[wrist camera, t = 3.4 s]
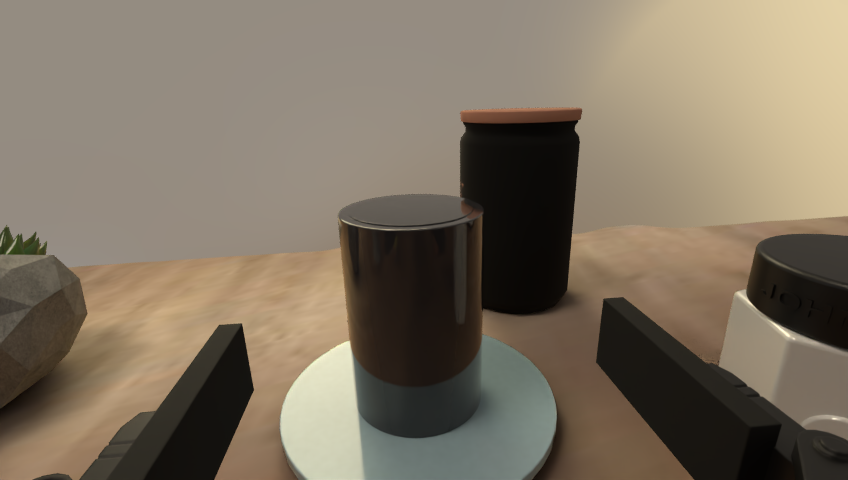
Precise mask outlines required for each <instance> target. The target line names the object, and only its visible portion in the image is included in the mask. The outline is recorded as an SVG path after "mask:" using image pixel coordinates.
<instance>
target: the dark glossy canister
mask: <svg viewBox="0 0 848 480" xmlns="http://www.w3.org/2000/svg"><path fill="white" fill-rule="evenodd" d="M338 225H339V235H340V245H341V256H342V267H343V277H344V288H345V298H346V309H347V319H348V330H349V340H350V351H351V361H352V372H353V382H354V393H355V402H356V407H357V409H358V411H359V413H360V415H361V416H362V418H363V419H364V420H365V421H366V422H367V423H368V424H370V425H371V426H372V427H374V428H376V429H378V430H379V431H382V432H384V433H387V434H390V435H394V436H398V437H404V438H426V437H433V436H437V435H441V434H444V433H447V432H450V431H452V430H454V429H456V428H458V427H460V426H461V425H463V424H464V423H465V422H467V421H468V420H469V419H470V418H471V417H472V416H473V415H474V413H475V412H476V410H477V408H478V407H479V404H480V401H481V386H482V324H483V263H484V208H483V206H482V205H480V204H479V203H477V202H475V201H472V200H469V199H465V198H461V197H455V196H447V195H433V194H411V195H410V194H408V195H394V196H385V197H378V198H372V199H368V200H363V201H359V202H356V203H353V204H351V205H348V206H346V207H344V208H343V209H341V210H340V211H339V213H338Z"/></svg>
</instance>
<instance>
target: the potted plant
mask: <svg viewBox="0 0 848 480" xmlns="http://www.w3.org/2000/svg"><path fill="white" fill-rule="evenodd" d="M35 238H36V232H35V233H34V235H33V236H32V237H31V238H29V239H28V240H26V241H25V242H24V243H23V239H22V234H21V235H20V236H19V234H18V235H17V237H16V238H15V240H13V238H12V235H11V233H10V231H9V227H8V228H7V225H6V227H5V228H4V230H3V231H2V233H1V234H0V408H2V407H3V406H5V405H6V404H7V403H9V402H10V401H11V400H13V399H14V398H15V397H17V396H18V395H20V394H21V393H22V392H24V391H25V390H26V389H28V388H29V387H30V386H32V385H33V384H34V383H36V382H37V381H38V380H40V379H41V378H42V377H44V376H45V375H46V374H48V373H49V372H51V371H52V370H53V369H54V368H55V367H56V366H57V365H58V363H59V362H60V361H61V360H62V359H63V358H64V357H65V356H66V355H67V354H68V353H69V351H70V349H71V347H72V345H73V343H74V341H75V338H76V336H77V334H78V332H79V330H80V328H81V326H82V324H83V322H84V320H85V318H86V315H87V309H86V305H85V301H84V296H83V292H82V287H81V283H80V279H79V278H78V277H77V276H76V275H75V274H74V273H73V272H72V271H71V270H69V269H68V268H67V267H66V266H65V265H64V264H63V263H62V262H61V261H59V260H58V259H57V258H56V257H55V256H54V255H46V247H47V241H46V242H45V243H44V245H43V246H42V247H40V246H41V244H39V238H37V240H36V241H35Z"/></svg>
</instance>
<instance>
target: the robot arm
mask: <svg viewBox="0 0 848 480" xmlns="http://www.w3.org/2000/svg"><path fill="white" fill-rule="evenodd" d="M596 363H597V364H598V365H599V366H600V367H601V369H602V370H603V371H604V372H605V373H606V375H607V376H608V377H609V378H610V379H611V380H612V382H613V383H614V384H615V385H616V386H617V388H618V389H619V390H620V391H621V392H622V394H623V395H624V396H625V397H626V398H627V400H628V401H629V402H630V403H631V404H632V406H633V407H634V408H635V409H636V410H637V412H638V413H639V414H640V415H641V416H642V418H643V419H644V420H645V421H646V422H647V424H648V425H649V426H650V427H651V428H652V430H653V431H654V432H655V433H656V434H657V436H658V437H659V438H660V439H661V440H662V442H663V443H664V444H665V445H666V446H667V448H668V449H669V450H670V451H671V452H672V454H673V455H674V456H675V457H676V458H677V460H678V461H679V462H680V463H681V464H682V466H683V467H684V468H685V469H686V470H687V471H688V473H689V474H690V475H691V476H692V477H693V479H694V480H848V440H846V439H844V438H842V437H839V436H837V435H834V434H831V433H829V432H824V431H819V430H806V429H805V428H803V427H802V426H801V425H799V424H798V423H797V422H795V421H794V420H793V419H792V418H790V417H789V416H788V415H786V414H785V413H784V412H782V411H781V410H780V409H779V408H777V407H776V406H775V405H773V404H772V403H771V402H769V401H768V400H767V399H765V398H764V397H760V394H759V393H758V392H756V391H755V390H754V389H752V388H751V387H748V386H747V384H746V383H745V382H743V381H742V380H741V379H739V378H738V377H737V376H735V375H734V374H733V373H731V372H729V371H727V370H725V369H723V368H721V367H719V366H717V365H715V364H713V363H710V364H706V363H705V362H704V361H702V360H701V359H700V358H699V357H697V356H696V355H695V354H694V353H692V352H691V351H690V350H689V349H687V348H686V347H685V346H684V345H682V344H681V343H680V342H679V341H677V340H676V339H675V338H673V337H672V336H671V335H670V334H668V333H667V332H666V331H665V330H663V329H662V328H661V327H660V326H658V325H657V324H656V323H655V322H653V321H652V320H651V319H650V318H648V317H647V316H646V315H645V314H643V313H642V312H641V311H640V310H638V309H637V308H636V307H635V306H633V305H632V304H631V303H630V302H628V301H627V300H626V299H625V298H623V297H621V298H606V299H603V308H602V316H601V325H600V334H599V342H598V351H597V359H596ZM253 391H254V388H253V383H252V377H251V371H250V366H249V360H248V355H247V349H246V343H245V338H244V332H243V326H242V323H241V324H227V325H219V326H218V327H217V329H216V330H215V331H214V333H213V334H212V336H211V337H210V338H209V340H208V341H207V342H206V344H205V345H204V346H203V348H202V349H201V351H200V352H199V353H198V355H197V356H196V357H195V359H194V360H193V361H192V363H191V364H190V366H189V367H188V368H187V370H186V371H185V372H184V374H183V375H182V377H181V378H180V379H179V381H178V382H177V383H176V385H175V386H174V387H173V389H172V390H171V392H170V393H169V394H168V396H167V397H166V398H165V400H164V401H163V403H162V404H161V405H160V407H159V408H158V409H157V411H153V412H142V413H139V414H138V415H137V416H135V417H134V418H133V419H131V420H130V421H129V422H127V423H126V424H125V425H124V426H122V427H121V428H120V430H119V431H118V432H117V433H116V435H115V436H114V437H113V438H112V440H111V441H110V442H109V446H106V447H105V448H104V450H103V451H102V452H101V453H100V455H99V457H98V459H96V460H95V461H94V462H93V463H92V465H91V466H90V467H89V468H88V470H87V471H86V472H85V473H84V475H83V476H82V477H81V478H80V480H214V479H215V476H216V474H217V472H218V470H219V467H220V465H221V463H222V461H223V458H224V456H225V454H226V452H227V449H228V447H229V445H230V443H231V440H232V438H233V436H234V434H235V431H236V429H237V427H238V425H239V422H240V420H241V418H242V416H243V413H244V411H245V409H246V407H247V404H248V402H249V400H250V398H251V395H252V393H253ZM33 480H72V479H71V478H70V476H69V475H65V474H59V473H57V474H51V475H45V476H41V477H39V478H36V479H33Z"/></svg>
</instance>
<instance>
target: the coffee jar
mask: <svg viewBox="0 0 848 480" xmlns="http://www.w3.org/2000/svg"><path fill="white" fill-rule="evenodd" d="M460 114H461V121H462V122H463V123H464V125H465V127H466V132H465V133H464V135H463V136H462V137H461V141H460V197H461V198H465V199H469V200H472V201H475V202H477V203H479V204H480V205H482V206H483V208H484V263H483V307H484V308H487V309H491V310H494V311H498V312H505V313H514V314H518V313H534V312H539V311H544V310H546V309H548V308H550V307H553V306H554V305H555V304H556V303H557V302H558V301H559V300H560V298H561V297H562V296H563V295H564V294H565V292H566V291H567V285H568V273H569V261H570V249H571V238H572V226H573V214H574V202H575V191H576V178H577V167H578V156H579V155H578V154H579V144H580V141H579V136H578V134H577V133H576V132H575V125H576V124H577V123H578V120H580V119H581V114H582V109H581V108H514V109H513V108H511V109H482V110H465V111H461V113H460Z"/></svg>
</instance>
